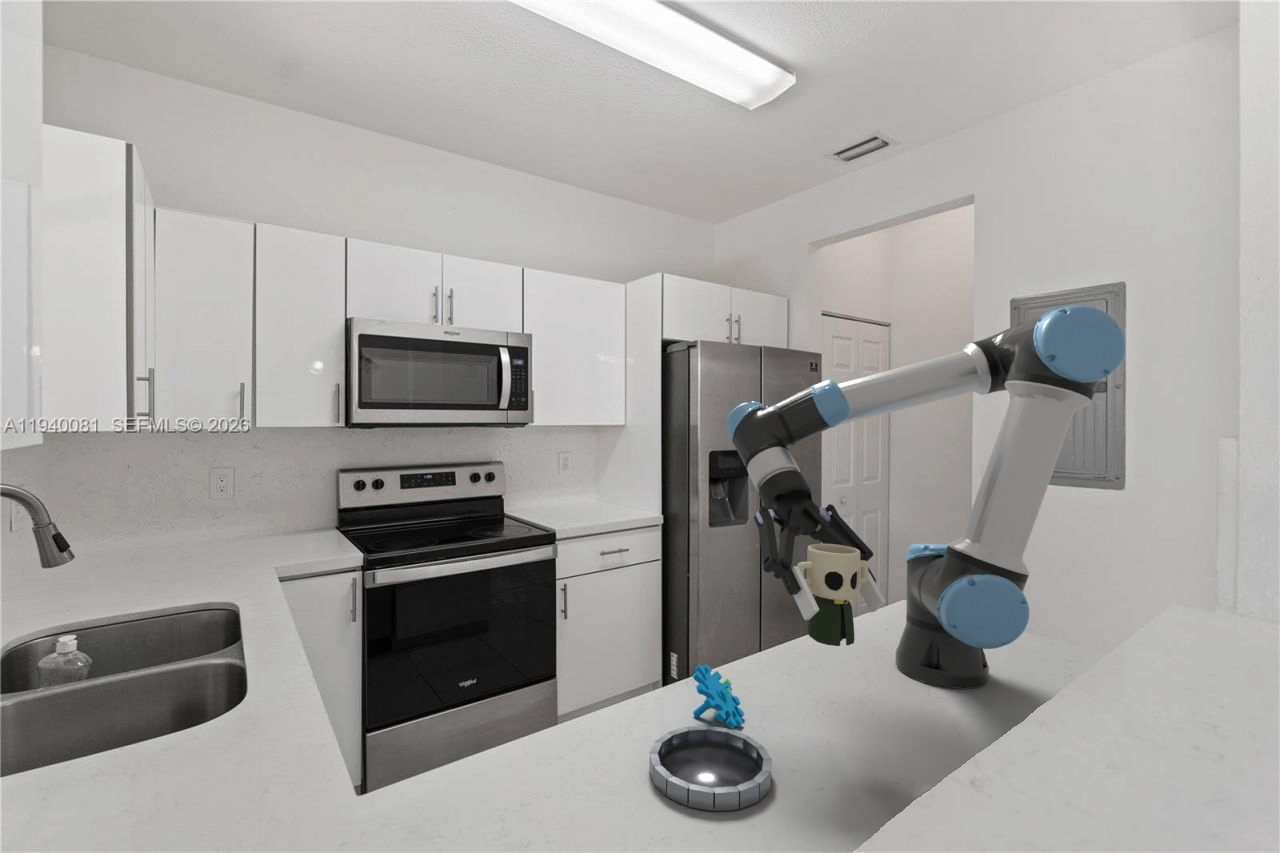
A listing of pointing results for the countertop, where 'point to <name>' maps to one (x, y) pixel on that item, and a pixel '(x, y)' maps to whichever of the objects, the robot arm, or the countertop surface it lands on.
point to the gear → (717, 697)
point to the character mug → (833, 590)
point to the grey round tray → (710, 768)
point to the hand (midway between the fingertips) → (846, 611)
